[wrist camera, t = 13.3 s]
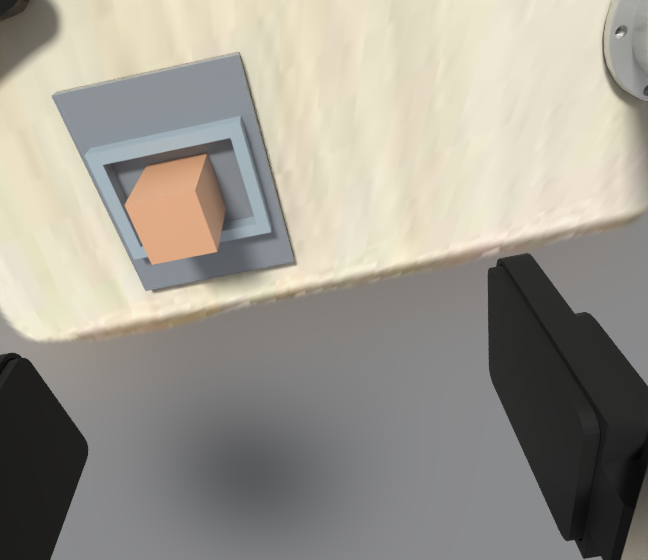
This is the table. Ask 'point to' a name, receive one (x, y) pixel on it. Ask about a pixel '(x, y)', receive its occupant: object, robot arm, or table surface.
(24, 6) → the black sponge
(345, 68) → the table surface
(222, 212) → the orange rectangular block
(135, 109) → the holder dock
